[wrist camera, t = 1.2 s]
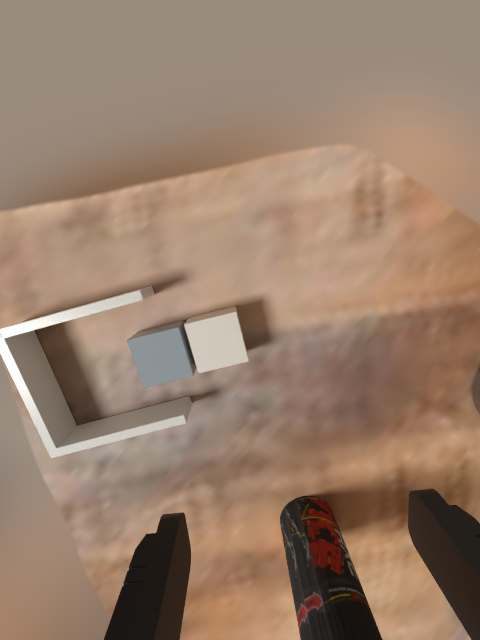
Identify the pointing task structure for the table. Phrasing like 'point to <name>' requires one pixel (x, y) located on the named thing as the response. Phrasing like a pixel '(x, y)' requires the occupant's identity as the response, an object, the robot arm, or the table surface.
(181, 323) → the grey-blue square block
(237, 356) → the tile white
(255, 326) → the table surface
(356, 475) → the table surface
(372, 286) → the table surface
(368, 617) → the deodorant
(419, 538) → the robot arm
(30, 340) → the tray
